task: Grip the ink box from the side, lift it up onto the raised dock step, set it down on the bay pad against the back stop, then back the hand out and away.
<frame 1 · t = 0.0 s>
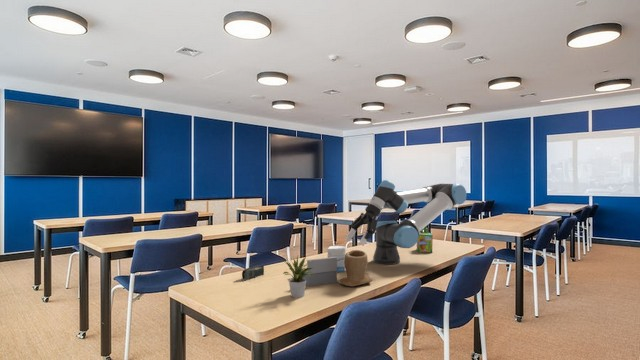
hand: (354, 242, 173), 15 cm above the table, tool tilted 35°, fingers open, 13 cm apart
stone cup: (357, 284, 154), on the table
green juice carton: (424, 251, 225), on the table
house plant: (295, 296, 138), on the table
mobile phone: (252, 278, 166), on the table
ink box: (336, 270, 180), on the table
dock step: (316, 279, 162), on the table
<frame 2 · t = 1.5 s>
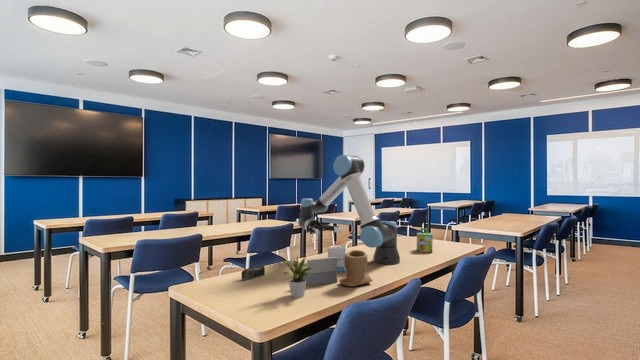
hand: (329, 231, 187), 19 cm above the table, tool horizontal, fingers open, 13 cm apart
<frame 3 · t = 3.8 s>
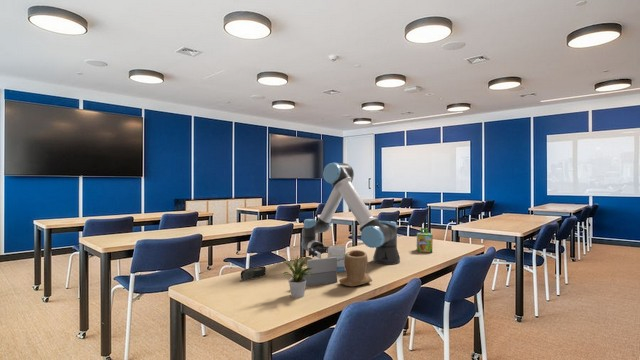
hand: (331, 254, 184), 7 cm above the table, tool horizontal, fingers open, 13 cm apart
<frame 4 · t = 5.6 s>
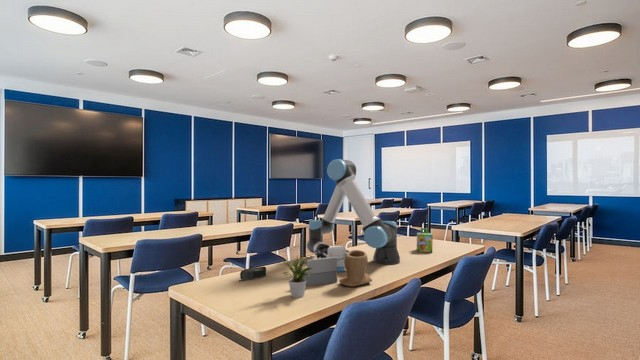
hand: (340, 257, 176), 7 cm above the table, tool horizontal, fingers closed on ink box, 11 cm apart
ink box: (336, 269, 180), on the table, touching gripper
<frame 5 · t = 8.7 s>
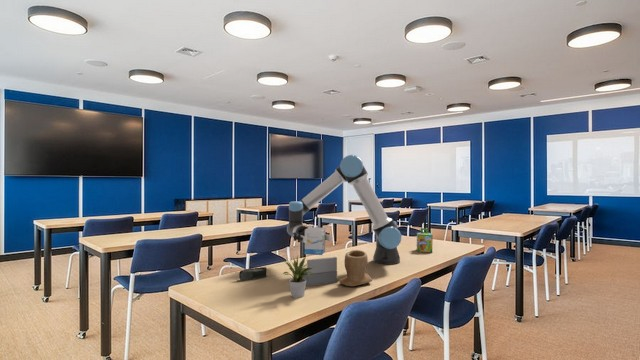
hand: (318, 239, 159), 19 cm above the table, tool horizontal, fingers closed on ink box, 11 cm apart
ink box: (315, 253, 163), point 12 cm above the table, touching gripper
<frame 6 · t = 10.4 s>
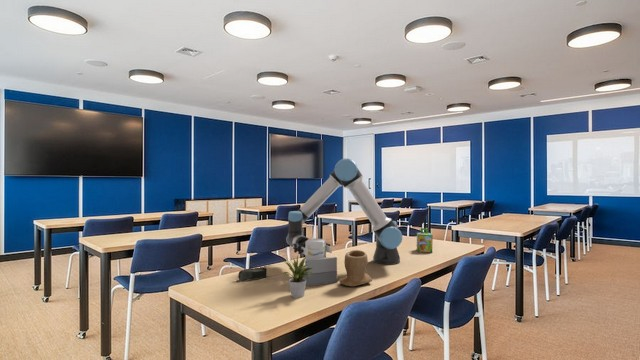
hand: (319, 251, 158), 14 cm above the table, tool horizontal, fingers closed on ink box, 11 cm apart
ink box: (315, 265, 162), point 7 cm above the table, touching gripper
when the fingers open (14 cm above the table, at t = 10.6 s): ink box drops 2 cm, resting on dock step.
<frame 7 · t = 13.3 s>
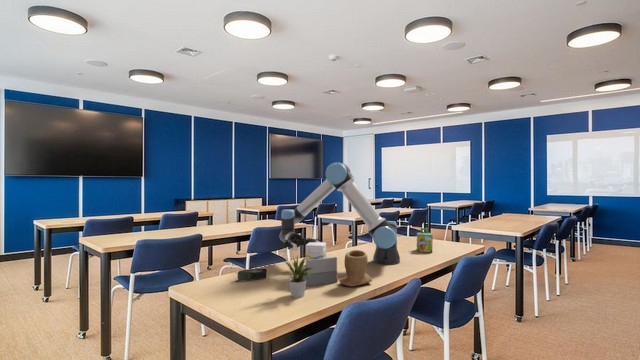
hand: (309, 246, 169), 14 cm above the table, tool horizontal, fingers open, 13 cm apart
ink box: (316, 268, 162), point 5 cm above the table, touching dock step
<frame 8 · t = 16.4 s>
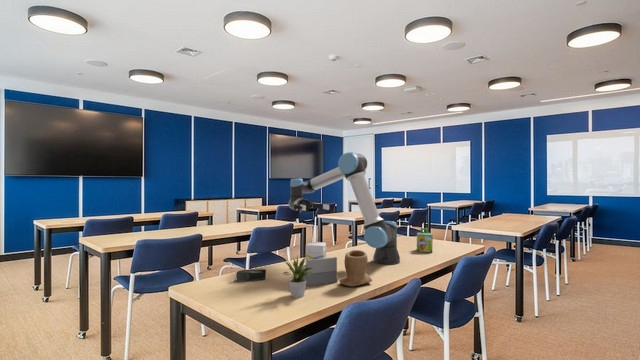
hand: (317, 207, 183), 32 cm above the table, tool horizontal, fingers open, 13 cm apart
at the end: ink box inside the target area on the dock step (0.4 cm from its centre), point 5.0 cm above the dock step's base; ink box tilted 0°; the gripper is holding nothing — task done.
